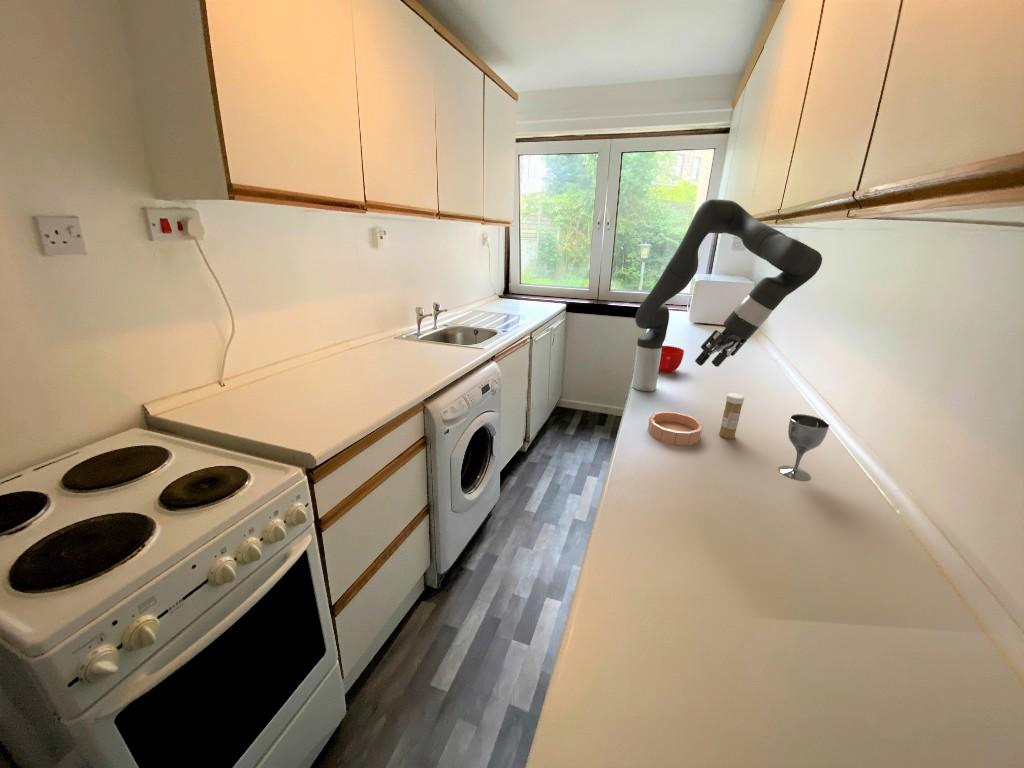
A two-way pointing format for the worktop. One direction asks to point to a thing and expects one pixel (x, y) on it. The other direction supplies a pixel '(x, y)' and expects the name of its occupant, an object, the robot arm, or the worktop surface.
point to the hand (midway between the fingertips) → (706, 364)
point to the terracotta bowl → (675, 428)
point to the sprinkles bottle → (731, 415)
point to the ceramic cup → (670, 359)
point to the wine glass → (804, 441)
